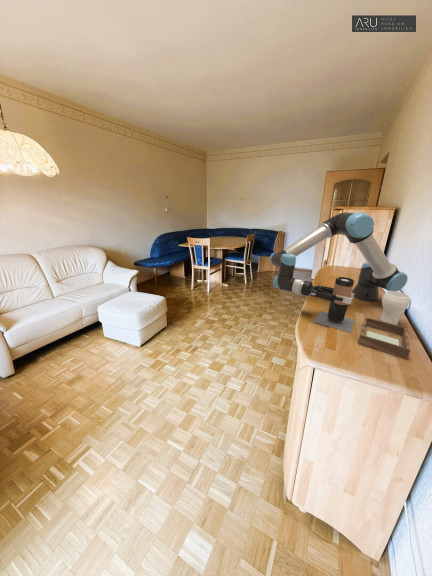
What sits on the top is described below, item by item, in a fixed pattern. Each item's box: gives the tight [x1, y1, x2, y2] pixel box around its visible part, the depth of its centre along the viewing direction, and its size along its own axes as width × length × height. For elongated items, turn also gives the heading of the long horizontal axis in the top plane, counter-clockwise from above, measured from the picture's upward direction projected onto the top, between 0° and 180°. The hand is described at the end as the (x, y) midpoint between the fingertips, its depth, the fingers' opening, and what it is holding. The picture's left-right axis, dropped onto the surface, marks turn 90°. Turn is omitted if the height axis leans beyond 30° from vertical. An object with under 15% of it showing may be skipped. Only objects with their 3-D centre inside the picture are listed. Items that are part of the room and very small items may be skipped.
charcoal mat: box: [313, 310, 356, 334], centre depth 112 cm, size 16×16×1 cm
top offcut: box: [365, 330, 400, 346], centre depth 93 cm, size 8×11×1 cm
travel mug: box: [328, 276, 355, 321], centre depth 108 cm, size 8×8×20 cm
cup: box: [379, 290, 411, 325], centre depth 113 cm, size 11×11×15 cm
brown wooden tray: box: [357, 316, 411, 360], centre depth 97 cm, size 22×16×4 cm
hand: (352, 298), depth 105 cm, fingers closed on travel mug, 7 cm apart
